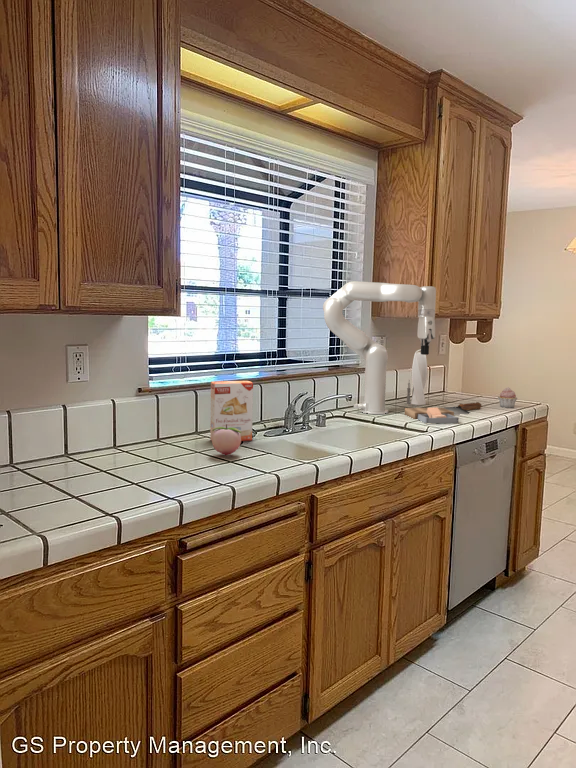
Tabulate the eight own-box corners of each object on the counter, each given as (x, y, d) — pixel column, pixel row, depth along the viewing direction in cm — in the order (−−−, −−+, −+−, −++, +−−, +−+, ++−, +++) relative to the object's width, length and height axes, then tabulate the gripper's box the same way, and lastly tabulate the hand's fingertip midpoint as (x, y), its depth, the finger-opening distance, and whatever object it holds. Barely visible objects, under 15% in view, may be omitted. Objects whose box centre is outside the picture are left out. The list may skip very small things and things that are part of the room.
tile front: (431, 414, 243) (431, 420, 243) (436, 416, 238) (436, 422, 239) (441, 414, 244) (441, 419, 244) (446, 416, 239) (446, 421, 239)
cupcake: (518, 406, 287) (520, 387, 286) (514, 409, 279) (516, 388, 278) (499, 405, 292) (500, 385, 291) (494, 407, 284) (496, 387, 283)
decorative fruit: (210, 459, 176) (209, 427, 175) (212, 452, 184) (212, 421, 183) (240, 459, 176) (240, 427, 175) (242, 452, 184) (242, 422, 183)
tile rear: (430, 418, 244) (431, 414, 243) (426, 412, 248) (427, 407, 246) (440, 418, 245) (441, 413, 243) (436, 411, 248) (437, 407, 247)
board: (414, 419, 247) (414, 412, 247) (404, 414, 259) (404, 408, 259) (453, 418, 250) (454, 412, 250) (442, 414, 262) (442, 407, 262)
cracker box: (214, 443, 197) (214, 383, 194) (210, 440, 202) (209, 381, 200) (253, 440, 202) (253, 381, 199) (247, 437, 207) (248, 380, 205)
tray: (426, 424, 237) (426, 418, 237) (417, 419, 247) (417, 414, 247) (458, 423, 239) (458, 417, 239) (447, 419, 249) (448, 413, 249)
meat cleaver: (447, 418, 253) (447, 409, 253) (427, 414, 263) (428, 405, 262) (495, 413, 272) (496, 404, 271) (475, 409, 281) (476, 401, 281)
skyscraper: (417, 403, 294) (419, 348, 291) (429, 405, 287) (431, 349, 284) (405, 404, 289) (407, 349, 286) (417, 406, 283) (420, 350, 279)
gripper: (441, 314, 252) (439, 355, 255) (427, 314, 267) (425, 353, 269) (425, 313, 251) (423, 355, 253) (412, 313, 266) (410, 353, 268)
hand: (424, 354), depth 261 cm, fingers closed
